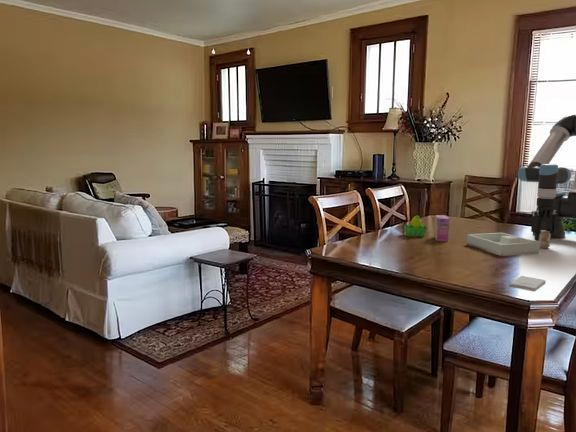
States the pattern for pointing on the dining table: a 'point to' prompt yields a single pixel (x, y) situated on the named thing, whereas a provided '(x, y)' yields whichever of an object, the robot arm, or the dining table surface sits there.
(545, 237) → the beech cylinder
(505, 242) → the grey cube
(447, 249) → the dining table surface
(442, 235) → the box
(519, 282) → the external hard drive
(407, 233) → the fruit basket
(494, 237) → the tote
